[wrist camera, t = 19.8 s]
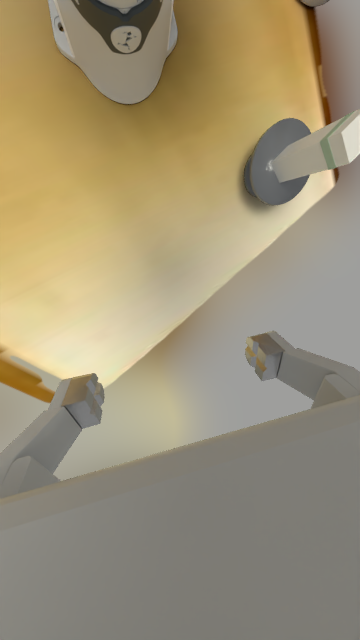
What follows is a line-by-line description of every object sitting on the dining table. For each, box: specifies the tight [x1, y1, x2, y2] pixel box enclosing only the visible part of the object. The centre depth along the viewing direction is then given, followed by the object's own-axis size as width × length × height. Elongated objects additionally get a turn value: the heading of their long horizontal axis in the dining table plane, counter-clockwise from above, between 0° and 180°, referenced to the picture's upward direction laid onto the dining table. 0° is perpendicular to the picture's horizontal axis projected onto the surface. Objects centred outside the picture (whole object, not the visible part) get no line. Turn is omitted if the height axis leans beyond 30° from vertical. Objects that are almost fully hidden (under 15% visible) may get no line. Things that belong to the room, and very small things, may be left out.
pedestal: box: [244, 118, 311, 205], centre depth 39 cm, size 13×13×7 cm
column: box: [271, 109, 360, 183], centre depth 30 cm, size 4×4×14 cm
